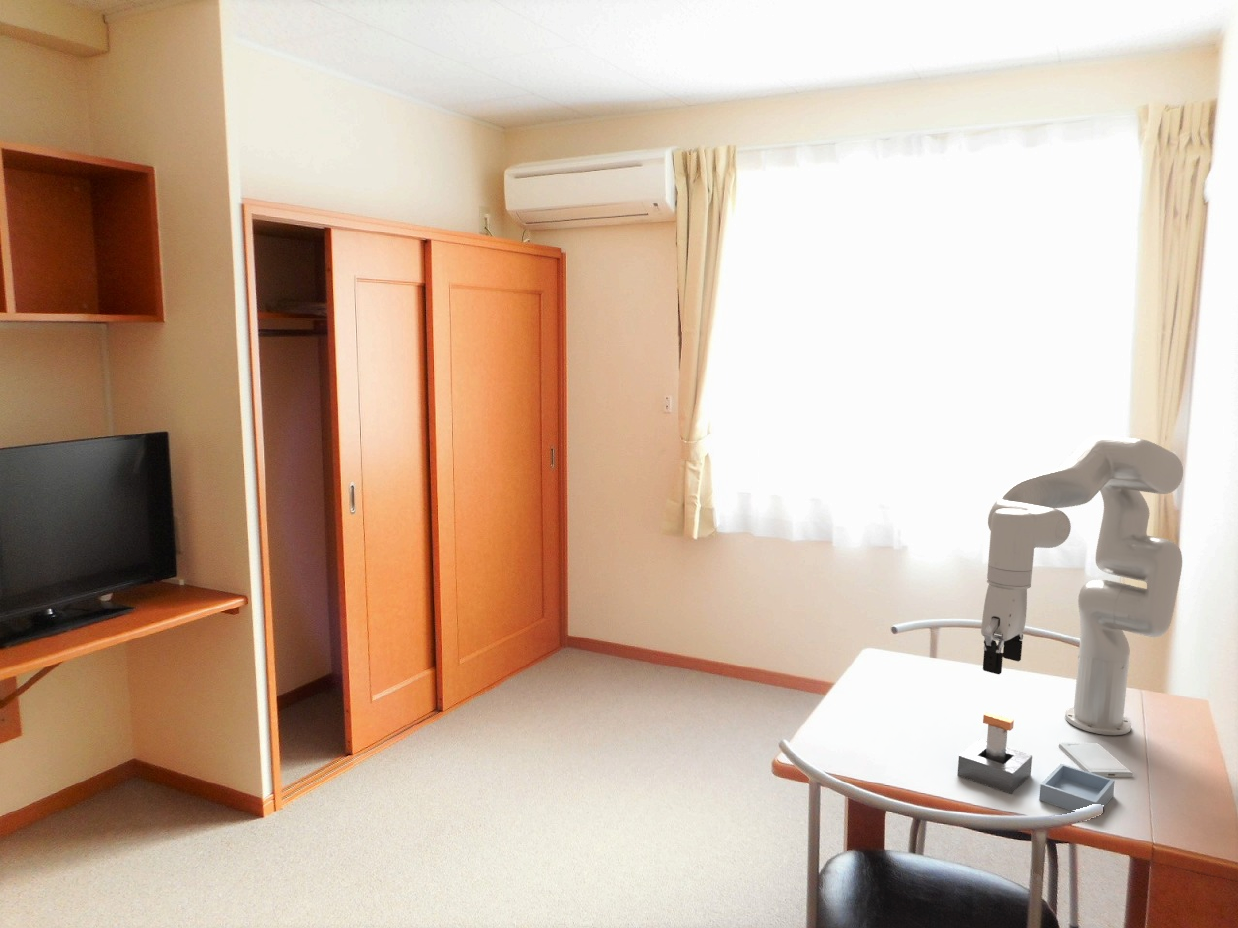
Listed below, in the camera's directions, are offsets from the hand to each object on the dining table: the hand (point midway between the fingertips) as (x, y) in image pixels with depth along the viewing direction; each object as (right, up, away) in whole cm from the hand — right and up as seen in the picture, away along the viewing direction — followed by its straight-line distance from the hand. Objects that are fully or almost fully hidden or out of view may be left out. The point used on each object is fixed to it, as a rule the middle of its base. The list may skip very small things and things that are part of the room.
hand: (1001, 665), depth 169 cm
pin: (0, -22, +3) cm, 22 cm away
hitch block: (0, -22, +3) cm, 22 cm away
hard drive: (+22, -22, +10) cm, 33 cm away
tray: (+11, -23, -5) cm, 26 cm away
